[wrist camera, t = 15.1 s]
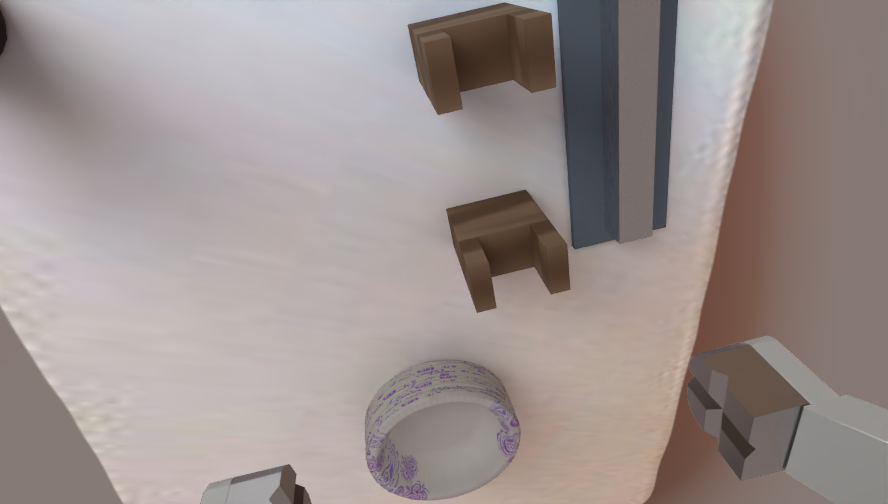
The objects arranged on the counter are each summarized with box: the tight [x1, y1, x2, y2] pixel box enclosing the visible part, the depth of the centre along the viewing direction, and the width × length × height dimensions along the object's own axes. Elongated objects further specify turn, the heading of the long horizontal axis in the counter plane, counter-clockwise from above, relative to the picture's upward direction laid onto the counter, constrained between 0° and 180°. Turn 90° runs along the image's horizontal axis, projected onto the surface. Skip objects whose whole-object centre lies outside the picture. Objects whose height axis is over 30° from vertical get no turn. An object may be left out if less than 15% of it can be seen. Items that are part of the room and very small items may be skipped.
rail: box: [600, 0, 661, 244], centre depth 39 cm, size 22×3×3 cm, turn 11°
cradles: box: [408, 3, 570, 313], centre depth 36 cm, size 19×7×10 cm, turn 11°
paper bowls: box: [365, 360, 520, 500], centre depth 51 cm, size 15×15×8 cm
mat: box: [557, 0, 678, 249], centre depth 40 cm, size 25×9×1 cm, turn 11°
